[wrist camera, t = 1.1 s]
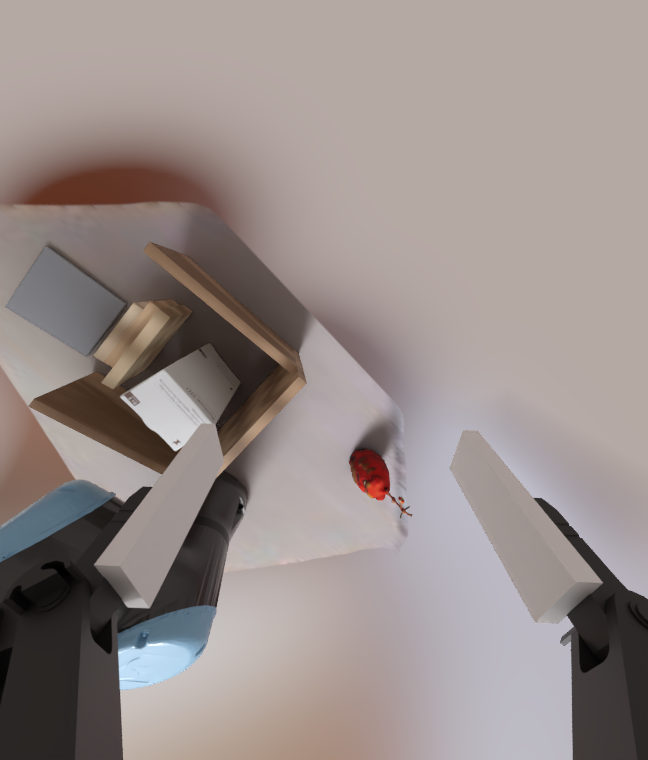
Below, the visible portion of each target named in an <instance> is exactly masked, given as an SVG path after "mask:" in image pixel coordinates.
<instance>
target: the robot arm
mask: <svg viewBox="0 0 648 760" xmlns="http://www.w3.org/2000/svg"><path fill="white" fill-rule="evenodd" d="M223 463H224V458H223V454H222V450H221V446H220V442H219V438H218V433H217V429H216V425H215V424H206V423H201V424H200V425H199V427H198V428H197V429H196V431H195V432H194V433H193V435H192V436H191V437H190V438H189V440H188V441H187V442H186V444H185V445H184V446H183V448H182V449H181V450H180V452H179V453H178V454H177V456H176V457H175V458H174V460H173V461H172V462H171V464H170V465H169V466H168V468H167V469H166V470H165V472H164V473H163V474H162V476H161V477H160V478H159V480H158V481H157V482H156V483H155V485H154V486H153V487H142V488H141V489H139V490H138V491H137V492H136V493H134V494H133V495H132V496H130V497H129V498H128V500H127V501H126V502H123V501H122V500H120V499H119V498H117V497H115V495H116V494H115V493H114V492H108V491H106V490H104V489H102V488H100V487H98V486H97V485H95V484H93V483H91V482H89V481H86V480H73V481H69V482H67V483H64V484H62V485H60V486H59V487H57V488H56V489H54V490H53V491H51V492H50V493H48V494H47V495H45V496H44V497H42V498H41V499H40V500H38V501H36V502H35V503H33V504H32V505H31V506H29V507H28V508H26V509H25V510H23V511H22V512H20V513H19V514H17V515H16V516H14V517H13V518H12V519H10V520H9V521H7V522H6V523H4V524H3V525H2V526H0V760H123V748H122V726H121V704H120V690H127V689H134V688H140V687H145V686H149V685H152V684H155V683H159V682H162V681H165V680H167V679H169V678H171V677H174V676H176V675H177V674H179V673H181V672H183V671H184V670H186V669H187V668H188V667H190V666H191V665H192V664H193V663H194V662H195V661H196V660H197V659H198V658H199V657H200V655H201V654H202V652H203V651H204V649H205V647H206V644H207V641H208V637H209V634H210V630H211V626H212V622H213V619H214V617H215V615H216V607H217V602H218V597H219V591H220V586H221V581H222V576H223V571H224V566H225V561H226V556H227V550H228V546H229V542H230V540H231V538H232V536H233V534H234V533H235V531H236V529H237V527H238V526H239V524H240V522H241V520H242V519H243V516H244V514H245V509H246V503H247V495H246V491H245V489H244V487H243V486H242V484H241V483H240V482H239V481H238V480H237V479H236V478H234V477H233V476H231V475H229V474H227V473H225V472H222V473H221V474H220V475H219V476H218V477H217V475H218V473H219V471H220V469H221V467H222V465H223ZM450 469H451V471H452V473H453V475H454V477H455V479H456V480H457V482H458V484H459V486H460V487H461V489H462V491H463V493H464V495H465V497H466V499H467V500H468V502H469V504H470V505H471V508H472V509H473V511H474V513H475V515H476V517H477V518H478V520H479V522H480V523H481V525H482V527H483V529H484V531H485V533H486V534H487V536H488V538H489V540H490V542H491V544H492V545H493V547H494V549H495V551H496V553H497V554H498V556H499V558H500V560H501V561H502V563H503V565H504V567H505V569H506V571H507V573H508V574H509V576H510V578H511V580H512V582H513V583H514V585H515V587H516V589H517V591H518V592H519V594H520V596H521V598H522V600H523V602H524V603H525V605H526V607H527V609H528V611H529V612H530V614H531V616H532V618H533V619H534V621H535V622H536V623H559V622H560V621H561V620H563V618H565V617H566V616H568V618H569V619H570V621H571V622H572V623H573V625H574V627H573V628H572V629H571V630H570V631H569V632H567V633H566V634H565V635H564V636H562V638H561V641H560V643H561V644H562V645H564V646H565V645H566V644H568V643H569V642H570V641H571V657H572V659H571V660H572V661H571V662H572V728H573V729H572V731H573V760H648V599H647V598H645V597H644V596H641V595H639V594H637V593H635V592H632V591H629V590H628V589H626V587H625V586H624V585H623V584H622V583H621V582H620V581H619V580H618V579H617V578H616V577H615V575H614V574H613V573H612V572H611V571H610V570H609V569H608V568H607V566H606V565H605V564H604V563H603V562H602V561H601V560H600V558H599V557H598V556H597V555H596V554H595V553H594V552H593V550H592V549H591V548H590V547H589V546H588V545H587V544H586V543H585V542H584V540H583V539H582V538H580V537H579V535H578V533H577V532H576V531H575V530H574V529H573V528H572V527H571V526H569V523H568V522H567V521H566V520H565V519H564V518H563V516H562V515H561V514H560V513H559V512H558V511H557V510H556V509H555V508H554V507H552V506H551V505H549V504H548V503H547V502H546V501H545V500H543V499H542V498H533V497H532V496H531V495H530V494H529V492H528V491H527V490H526V489H525V488H524V486H523V485H522V484H521V483H520V481H519V480H518V479H517V478H516V477H515V476H514V474H513V473H512V472H511V471H510V469H509V468H508V467H507V466H506V465H505V463H504V462H503V461H502V460H501V458H500V457H499V456H498V455H497V454H496V452H495V451H494V450H493V449H492V448H491V447H490V445H489V444H488V443H487V442H486V440H485V439H484V438H483V437H482V435H481V434H480V433H479V432H478V431H463V432H462V435H461V438H460V441H459V443H458V446H457V449H456V452H455V455H454V457H453V460H452V463H451V466H450ZM216 477H217V478H216Z"/></svg>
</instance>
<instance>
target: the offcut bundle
mask: <svg viewBox="0 0 648 760" xmlns="http://www.w3.org/2000/svg"><path fill="white" fill-rule="evenodd" d="M192 312H193V311H191V310H190V309H189V308H187V307H186V306H185V305H178V304H177V303H176V302H175V301H173V300H172V299H170V300H160V301H146V302H135V303H133V304H132V305H131V307H130V308H129V309H128V311H127V312H126V313H125V315H124V316H123V317H122V319H121V320H120V321H119V323H118V324H117V325H116V326H115V328H114V329H113V330H112V332H111V333H110V334H109V336H108V337H107V338H106V340H105V341H104V342H103V344H102V345H101V346H100V348H99V349H98V350H97V351H96V353H95V354H94V355H93V356H94V357H96V358H97V359H99V360H100V361H102V362H104V363H106V364H107V365H109V366H111V367H112V369H111V371H110V372H109V373H108V375H107V376H106V377H105V378H104V380H103V381H102V382H101V383H102V384H104V385H106V386H107V387H109V388H111V389H115V388H116V387H118V386H119V385H121V384H123V383H124V382H126V381H128V380H129V379H131V378H133V377H134V376H136V375H138V374H139V373H141V372H143V371H144V370H146V368H147V367H148V366H149V365H150V363H151V362H152V361H153V360H154V359H155V357H156V356H157V355H158V354H159V352H160V351H161V350H162V349H163V347H164V346H165V345H166V344H167V343H168V341H169V340H170V339H171V338H172V336H173V335H174V334H175V333H176V331H177V330H178V329H179V328H180V327H181V325H182V324H183V323H184V322H185V320H186V319H187V318H188V317H189V315H190V314H191V313H192Z"/></svg>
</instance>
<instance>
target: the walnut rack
mask: <svg viewBox="0 0 648 760" xmlns="http://www.w3.org/2000/svg"><path fill="white" fill-rule="evenodd" d="M143 252H144V253H145V254H147V255H148V256H149V257H150V258H151V259H153V260H154V261H155V262H156V263H158V264H159V265H160V266H161V267H162V268H164V269H165V270H166V271H167V272H168V273H170V274H171V275H172V276H173V277H175V278H176V279H177V280H178V281H179V282H181V283H182V284H183V285H184V286H185V287H187V288H188V289H189V290H190V291H191V292H193V293H194V294H195V295H196V296H198V297H199V298H200V299H201V300H202V301H204V302H205V303H206V304H207V305H208V306H210V307H211V308H212V309H213V310H215V311H216V312H217V313H218V314H219V315H221V316H222V317H223V318H224V319H225V320H227V321H228V322H229V323H230V324H232V325H233V326H234V327H235V328H236V329H238V330H239V331H240V332H241V333H242V334H244V335H245V336H246V337H247V338H249V339H250V340H251V341H252V342H253V343H255V344H256V345H257V346H258V347H259V348H261V349H262V350H263V351H264V352H265V353H267V354H268V355H269V356H270V357H272V358H273V359H274V360H275V361H276V362H278V363H279V365H278V366H277V367H276V368H275V370H274V371H273V372H272V373H271V374H270V375H269V376H268V377H267V378H266V379H265V380H264V382H263V383H262V384H261V385H260V386H259V387H258V388H257V389H256V390H255V391H254V392H253V394H252V395H251V396H250V397H249V398H248V399H247V400H246V401H245V402H244V403H243V404H242V406H241V407H240V408H239V409H238V410H237V411H236V412H235V413H234V414H233V415H232V416H231V418H230V419H229V420H228V421H227V422H226V423H225V424H224V425H223V426H222V427H221V429H220V430H219V431H218V432H217V433H218V438H219V442H220V446H221V450H222V454H223V458H224V463H223V465H222V467H221V469H220V471H219V473H218V475H217V477H218V476H219V475H220V474H221V473H222V472H223V471H224V470H225V468H226V467H227V466H228V465H229V464H230V463H231V462H232V461H233V460H234V459H235V458H236V457H237V456H238V455H239V454H240V453H241V452H242V451H243V450H244V448H245V447H246V446H247V445H248V444H249V443H250V442H251V441H252V440H253V439H254V438H255V437H256V436H257V435H258V434H259V433H260V432H261V431H262V430H263V429H264V427H265V426H266V425H267V424H268V423H269V422H270V421H271V420H272V419H273V418H274V417H275V416H276V415H277V414H278V413H279V412H280V411H281V410H282V409H283V408H284V406H285V405H286V404H287V403H288V402H289V401H290V400H291V399H292V398H293V397H294V396H295V395H296V394H297V393H298V392H299V391H300V390H301V389H302V388H303V387H304V385H305V384H306V383H307V382H306V379H305V375H304V371H303V368H302V364H301V360H300V357H299V354H298V353H297V352H296V351H295V350H294V349H293V348H292V347H290V346H289V345H288V344H287V343H286V342H285V341H284V340H282V339H281V338H280V337H279V336H278V335H277V334H276V333H274V332H273V331H272V330H271V329H270V328H269V327H268V326H266V325H265V324H264V323H263V322H262V321H261V320H260V319H258V318H257V317H256V316H255V315H254V314H253V313H252V312H250V311H249V310H248V309H247V308H246V307H245V306H244V305H242V304H241V303H240V302H239V301H238V300H237V299H236V298H234V297H233V296H232V295H231V294H230V293H229V292H228V291H226V290H225V289H224V288H223V287H222V286H221V285H220V284H218V283H217V282H216V281H215V280H214V279H213V278H212V277H210V276H209V275H208V274H207V273H206V272H205V271H204V270H202V269H201V268H200V267H199V266H198V265H197V264H196V263H194V262H193V261H192V260H191V259H190V258H189V257H188V256H186V255H184V254H181V253H178V252H176V251H173V250H170V249H168V248H165V247H162V246H160V245H157V244H154V243H152V242H149V244H148V245H147V247H146V248H145V249H144V251H143ZM104 378H105V376H103V375H102V374H100V373H98V372H95V373H92V374H90V375H88V376H85V377H83V378H81V379H79V380H76V381H74V382H72V383H69V384H67V385H65V386H62V387H60V388H58V389H56V390H53V391H51V392H49V393H46V394H44V395H42V396H39V397H37V398H35V399H34V400H33V401H32V402H31V404H30V405H29V407H31V408H33V409H35V410H37V411H38V412H40V413H42V414H44V415H46V416H48V417H50V418H52V419H54V420H56V421H58V422H60V423H62V424H64V425H66V426H68V427H70V428H72V429H74V430H76V431H78V432H80V433H82V434H84V435H86V436H88V437H90V438H92V439H94V440H95V441H97V442H99V443H101V444H103V445H105V446H107V447H109V448H111V449H113V450H115V451H117V452H119V453H121V454H123V455H125V456H127V457H129V458H131V459H133V460H135V461H137V462H139V463H141V464H143V465H145V466H147V467H149V468H150V469H152V470H154V471H156V472H158V473H160V474H163V473H164V472H165V470H166V469H167V468H168V466H169V465H170V464H171V462H172V461H173V460H174V458H175V457H176V456H177V454H178V453H179V452H180V450H181V449H182V448H183V447H182V448H180V449H179V450H177V451H174V450H173V449H172V448H171V447H170V446H169V444H168V443H167V442H166V441H165V440H164V439H163V438H162V437H161V436H160V435H159V434H158V433H156V432H155V431H153V430H151V429H150V428H149V427H147V426H146V424H145V423H144V422H143V420H142V418H141V417H140V416H139V415H138V414H137V413H136V412H135V411H134V410H133V409H132V408H131V407H130V406H129V405H128V404H127V403H126V402H125V401H124V400H122V399H121V398H120V396H121V395H122V394H124V393H125V392H127V391H128V390H126V389H125V388H123V387H121V386H120V385H119V386H118V387H116V388H115V389H111V388H109V387H107V386H106V385H104V384H102V383H101V382H102V381H103V380H104ZM217 477H216V478H217Z"/></svg>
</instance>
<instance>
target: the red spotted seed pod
mask: <svg viewBox="0 0 648 760" xmlns="http://www.w3.org/2000/svg"><path fill="white" fill-rule="evenodd" d="M349 464H350V465H351V472H352V477H353V479H354V481H355V483H356V484H357V485H358V486H359V488H360V489H361V490H362V491H363V492H365V493H367V495H368V496H369V497H370V498H376V499H377V500H383V499H384V498H385V495H386V494H387V495H388V496H390V497H391V498H392V503H396V504H397V505H398V506H399V507H400V509H401V511H402V513H401V515H400V518H401V516H402V514H403V513H405V514H407V515H409V516H412V514H408V513H407V512H406V511H405V510H406V509H408V508H409V507H407V508H406V509H404V508H402V503H404V499H403V498H402V497H399V501H400V505H399V504H398V503H397V502H396V500H395V498H394V497H392V496H391V495H390V493H389V491H390V479H389V471H388V468H387V466H386V464H385V462H384V460H383V459H382V457H381V456H380V455H378V454H377V453H376V452H374V451H372V450H369V449H362V450H361V451H360V450H357V451H355V452H354V453H353V455H352V458H351V459H350V460H349Z"/></svg>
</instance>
